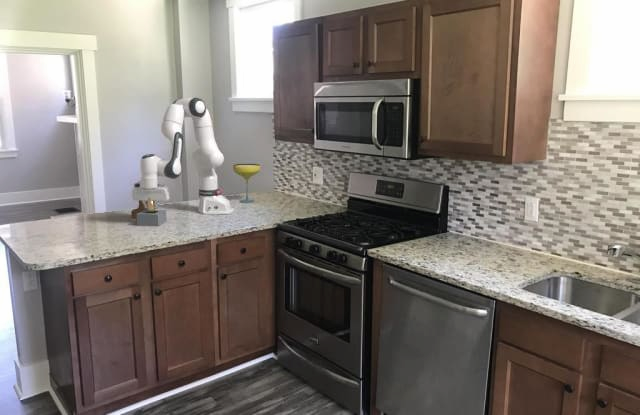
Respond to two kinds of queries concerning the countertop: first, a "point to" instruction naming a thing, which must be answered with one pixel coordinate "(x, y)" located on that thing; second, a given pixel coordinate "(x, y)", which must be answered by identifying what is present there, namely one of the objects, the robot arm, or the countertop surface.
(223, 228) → the countertop surface
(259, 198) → the countertop surface
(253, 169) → the cocktail glass
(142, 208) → the wooden block
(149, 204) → the brass pin
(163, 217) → the hole holder
